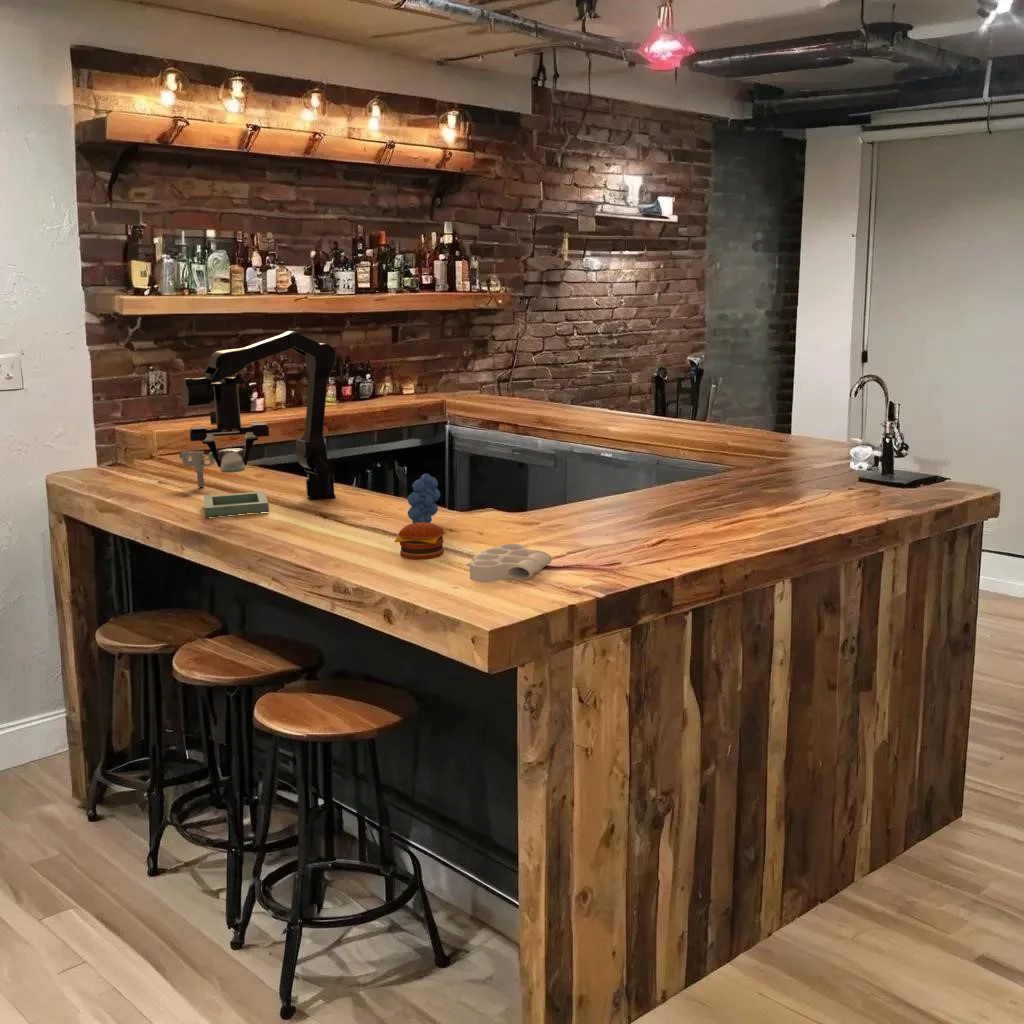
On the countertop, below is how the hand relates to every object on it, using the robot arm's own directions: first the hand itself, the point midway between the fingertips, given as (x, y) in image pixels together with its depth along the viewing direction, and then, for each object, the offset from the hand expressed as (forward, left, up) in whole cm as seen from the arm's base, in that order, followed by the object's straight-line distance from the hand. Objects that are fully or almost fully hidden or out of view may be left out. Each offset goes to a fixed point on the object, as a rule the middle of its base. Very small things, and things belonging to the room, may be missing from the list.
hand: (232, 466), depth 279 cm
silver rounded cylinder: (0, 0, -1) cm, 1 cm away
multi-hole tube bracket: (-48, +78, -12) cm, 93 cm away
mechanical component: (+8, -33, -11) cm, 36 cm away
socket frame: (0, 0, -11) cm, 11 cm away
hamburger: (-35, +60, -11) cm, 71 cm away
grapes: (-40, +35, -11) cm, 54 cm away
